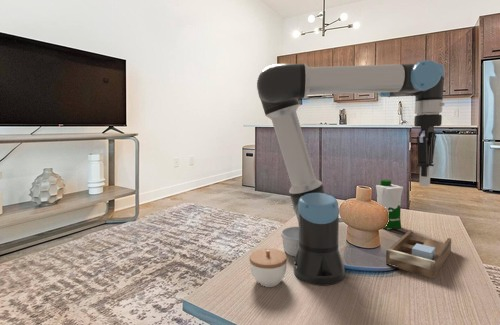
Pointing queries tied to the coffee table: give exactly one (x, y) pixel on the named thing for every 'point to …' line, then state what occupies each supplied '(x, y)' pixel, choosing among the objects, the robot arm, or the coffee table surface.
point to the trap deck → (406, 261)
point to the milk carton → (390, 201)
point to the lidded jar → (268, 266)
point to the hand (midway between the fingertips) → (424, 185)
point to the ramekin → (290, 240)
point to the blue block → (423, 251)
